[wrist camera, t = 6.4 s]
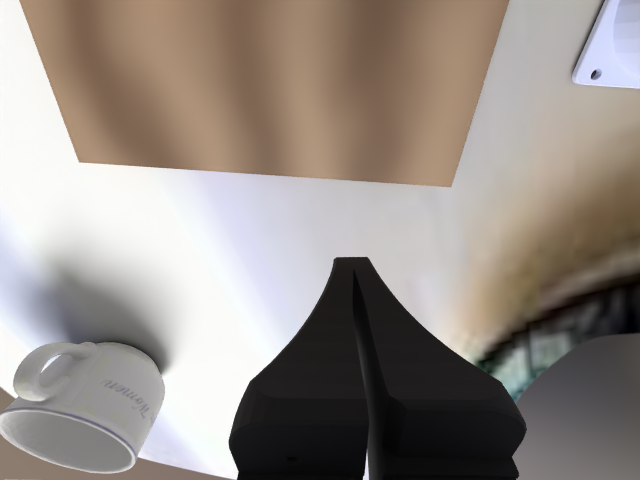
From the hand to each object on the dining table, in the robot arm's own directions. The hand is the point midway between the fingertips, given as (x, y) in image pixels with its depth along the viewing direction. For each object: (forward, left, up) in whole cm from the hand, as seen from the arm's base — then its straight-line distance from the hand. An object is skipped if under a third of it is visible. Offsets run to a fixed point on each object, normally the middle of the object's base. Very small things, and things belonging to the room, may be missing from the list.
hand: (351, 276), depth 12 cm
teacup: (+20, +19, -10) cm, 29 cm away
